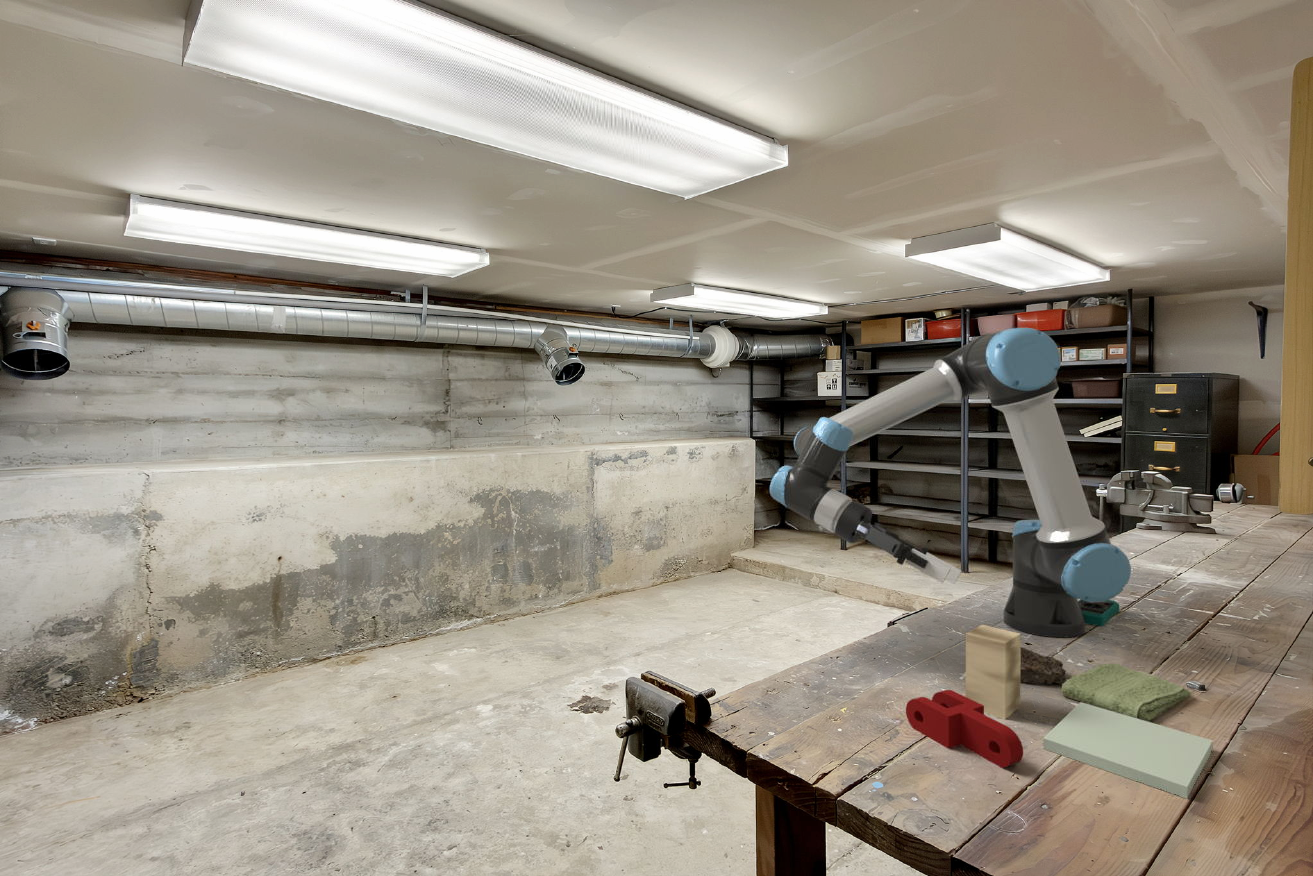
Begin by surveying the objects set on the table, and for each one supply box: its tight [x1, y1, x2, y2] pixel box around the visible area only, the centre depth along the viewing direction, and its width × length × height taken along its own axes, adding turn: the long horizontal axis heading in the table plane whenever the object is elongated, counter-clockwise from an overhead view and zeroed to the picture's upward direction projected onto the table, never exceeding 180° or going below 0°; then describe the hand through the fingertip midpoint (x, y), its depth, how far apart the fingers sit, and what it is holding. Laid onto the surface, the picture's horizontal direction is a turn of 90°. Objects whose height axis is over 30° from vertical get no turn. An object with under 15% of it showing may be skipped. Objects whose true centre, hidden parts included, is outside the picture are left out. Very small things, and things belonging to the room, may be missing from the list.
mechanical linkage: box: [905, 689, 1024, 769], centre depth 94 cm, size 16×7×5 cm, turn 24°
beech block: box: [965, 624, 1022, 720], centre depth 104 cm, size 6×6×12 cm
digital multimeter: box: [1078, 599, 1120, 627], centre depth 147 cm, size 7×15×3 cm, turn 133°
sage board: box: [1042, 701, 1214, 800], centre depth 91 cm, size 16×16×2 cm
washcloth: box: [1060, 662, 1192, 722], centre depth 107 cm, size 13×18×3 cm
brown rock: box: [1020, 646, 1067, 685], centre depth 116 cm, size 12×10×5 cm
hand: (952, 576), depth 112 cm, fingers open, 13 cm apart
